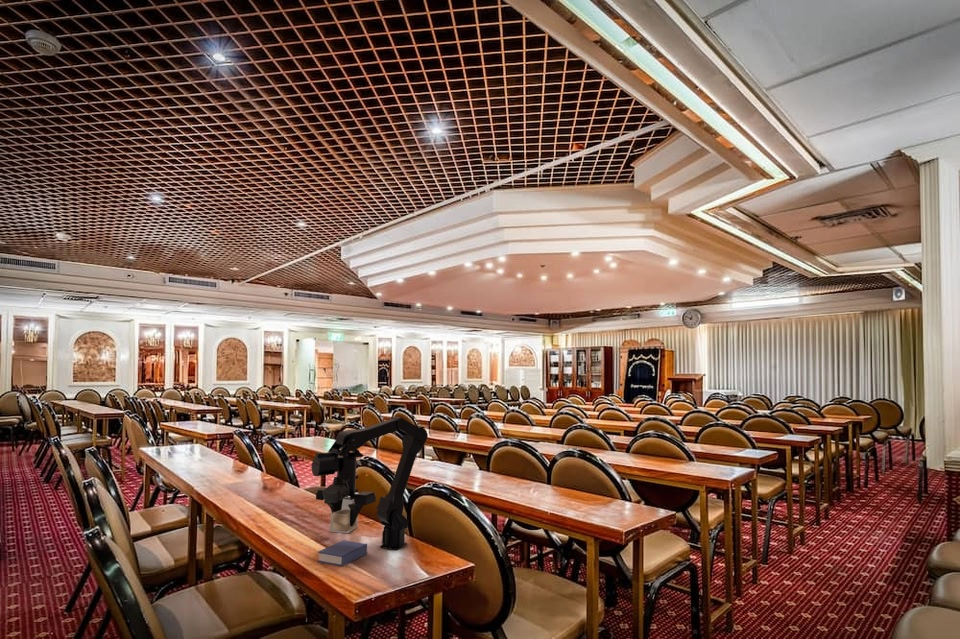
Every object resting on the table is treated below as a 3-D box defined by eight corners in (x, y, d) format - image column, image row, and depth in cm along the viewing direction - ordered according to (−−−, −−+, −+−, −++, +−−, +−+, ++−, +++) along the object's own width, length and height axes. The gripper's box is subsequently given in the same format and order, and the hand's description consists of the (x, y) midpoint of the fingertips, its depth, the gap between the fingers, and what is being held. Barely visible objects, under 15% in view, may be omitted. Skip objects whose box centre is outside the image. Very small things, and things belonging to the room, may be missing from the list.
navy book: (366, 554, 160) (367, 544, 160) (342, 566, 149) (342, 555, 149) (343, 550, 163) (343, 540, 164) (317, 562, 152) (318, 551, 153)
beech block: (355, 527, 159) (356, 510, 159) (345, 531, 154) (346, 514, 155) (342, 525, 160) (343, 508, 161) (332, 529, 156) (332, 512, 156)
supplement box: (348, 533, 181) (350, 496, 182) (329, 532, 182) (331, 495, 184) (357, 528, 188) (359, 492, 189) (339, 526, 189) (340, 491, 191)
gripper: (304, 474, 155) (301, 528, 154) (355, 479, 148) (353, 536, 146) (328, 468, 166) (326, 519, 164) (377, 473, 158) (375, 526, 157)
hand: (344, 525), depth 157 cm, fingers closed on beech block, 5 cm apart
